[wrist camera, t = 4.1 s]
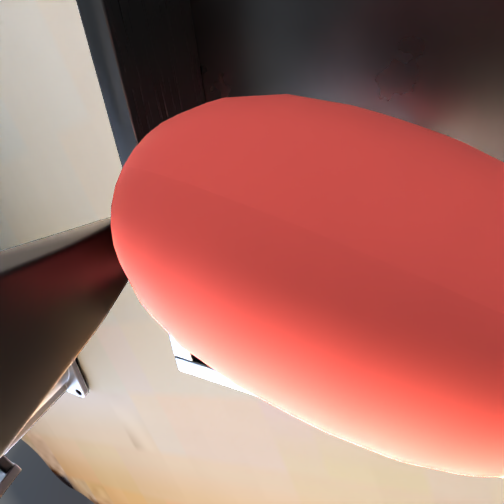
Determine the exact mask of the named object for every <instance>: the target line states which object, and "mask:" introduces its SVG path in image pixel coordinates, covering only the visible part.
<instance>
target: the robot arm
mask: <svg viewBox="0 0 504 504" xmlns="http://www.w3.org/2000/svg"><path fill="white" fill-rule="evenodd" d="M128 280H129V279H128V278H127V276H126V274H125V272H124V270H123V268H122V266H121V264H120V263H119V260H118V257H117V254H116V251H115V248H114V245H113V239H112V232H111V218H106V219H103V220H99V221H96V222H93V223H90V224H87V225H83V226H80V227H77V228H74V229H70V230H67V231H64V232H61V233H57V234H54V235H51V236H48V237H45V238H41V239H38V240H35V241H32V242H28V243H25V244H22V245H19V246H15V247H12V248H9V249H6V250H3V251H0V498H1V496H2V495H3V494H4V493H5V491H6V490H7V489H8V487H9V486H10V485H11V483H12V482H13V481H14V480H15V478H16V477H17V476H18V474H19V473H20V472H21V470H22V469H21V468H20V467H19V466H18V465H17V464H16V463H12V462H11V461H10V460H9V459H8V458H7V457H6V456H5V454H6V453H7V452H8V451H9V449H11V448H12V447H13V446H14V445H15V443H16V442H17V441H18V440H19V439H20V438H21V437H22V436H23V435H24V434H25V433H26V432H27V431H28V430H29V429H30V428H31V427H32V426H33V425H34V424H35V423H36V422H37V421H38V420H39V419H40V417H41V416H42V415H43V414H44V413H45V412H46V411H47V410H48V409H49V408H50V407H51V406H52V405H53V404H54V403H55V402H56V401H57V400H58V399H59V398H60V397H61V396H62V395H63V394H64V393H65V391H67V392H69V393H72V394H74V395H77V396H79V397H82V398H83V397H85V396H86V395H87V394H88V393H89V390H88V387H87V385H86V383H85V381H84V378H83V376H82V374H81V372H80V369H79V367H78V365H77V363H76V360H75V358H76V357H77V356H78V354H79V353H80V352H81V350H82V349H83V348H84V346H85V345H86V344H87V342H88V341H89V340H90V338H91V337H92V336H93V334H94V333H95V332H96V330H97V329H98V328H99V326H100V325H101V323H102V322H103V320H104V319H105V317H106V316H107V314H108V313H109V311H110V309H111V308H112V306H113V304H114V303H115V301H116V300H117V298H118V296H119V295H120V293H121V291H122V290H123V288H124V286H125V285H126V283H127V282H128Z"/></svg>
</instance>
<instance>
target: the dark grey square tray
mask: <svg viewBox="0 0 504 504" xmlns="http://www.w3.org/2000/svg"><path fill="white" fill-rule="evenodd" d="M76 2H77V5H78V9H79V13H80V16H81V20H82V23H83V27H84V31H85V34H86V38H87V41H88V45H89V49H90V52H91V56H92V60H93V63H94V67H95V70H96V74H97V78H98V81H99V85H100V88H101V92H102V96H103V99H104V103H105V107H106V110H107V114H108V117H109V121H110V125H111V128H112V132H113V135H114V139H115V143H116V146H117V150H118V153H119V157H120V161H121V164H122V168H123V166H124V164H125V162H126V161H127V159H128V158H129V156H130V154H131V153H132V151H133V149H134V148H135V147H136V146H137V145H138V144H139V143H140V141H141V140H142V139H143V138H144V137H145V136H146V135H147V134H148V133H149V132H150V131H152V130H153V129H154V128H155V127H157V126H158V125H159V124H161V123H162V122H164V121H166V120H168V119H170V118H172V117H174V116H176V115H178V114H180V113H182V112H185V111H187V110H190V109H192V108H195V107H197V106H200V105H202V104H205V103H208V102H211V101H214V100H217V99H221V98H225V97H242V96H260V95H278V94H290V95H296V96H302V97H308V98H313V99H319V100H325V101H331V102H336V103H342V104H348V105H353V106H357V107H360V108H364V109H368V110H371V111H375V112H378V113H381V114H385V115H388V116H391V117H394V118H398V119H401V120H404V121H407V122H410V123H413V124H416V125H419V126H421V127H424V128H427V129H430V130H433V131H435V132H438V133H441V134H443V135H446V136H449V137H451V138H454V139H457V140H459V141H462V142H464V143H466V144H468V145H470V146H472V147H474V148H476V149H478V150H480V151H482V152H484V153H486V154H488V155H490V156H492V157H494V158H496V159H498V160H500V161H502V162H504V0H76ZM168 334H169V333H168ZM169 338H170V341H171V345H172V349H173V352H174V355H175V358H176V362H177V366H178V369H179V370H180V371H182V372H185V373H188V374H191V375H194V376H197V377H200V378H203V379H206V380H209V381H212V382H215V383H218V384H221V385H224V386H227V387H230V388H233V389H236V390H239V391H242V392H245V393H248V394H251V393H249V392H248V391H246V390H244V389H242V388H241V387H239V386H237V385H236V384H234V383H233V382H231V381H230V380H229V379H227V378H226V377H224V376H223V375H221V374H220V373H218V372H217V371H216V370H214V369H213V368H211V367H210V366H208V365H207V364H205V363H204V362H203V361H201V360H200V359H198V358H197V357H195V356H194V355H193V354H191V353H190V352H188V351H187V350H186V349H184V348H183V347H182V346H181V345H180V344H179V343H178V342H177V341H176V340H175V339H174V338H173V337H172V336H171V335H170V334H169ZM251 395H253V394H251ZM254 396H255V395H254ZM500 478H503V479H504V477H500Z"/></svg>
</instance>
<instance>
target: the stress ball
mask: <svg viewBox="0 0 504 504" xmlns="http://www.w3.org/2000/svg"><path fill="white" fill-rule="evenodd" d="M111 232H112V239H113V245H114V248H115V251H116V254H117V257H118V260H119V263H120V264H121V266H122V268H123V270H124V272H125V274H126V276H127V278H128V279H129V281H130V283H131V285H132V287H133V289H134V291H135V293H136V295H137V297H138V299H139V300H140V302H141V304H142V305H143V306H144V307H145V308H146V310H147V311H148V312H149V313H150V314H151V315H152V317H153V318H154V319H155V320H156V321H157V322H158V323H159V324H160V325H161V326H162V327H163V328H164V329H165V330H166V331H167V332H168V333H169V334H170V335H171V336H172V337H173V338H174V339H175V340H176V341H177V342H178V343H179V344H180V345H181V346H182V347H183V348H184V349H186V350H187V351H188V352H190V353H191V354H193V355H194V356H195V357H197V358H198V359H200V360H201V361H203V362H204V363H205V364H207V365H208V366H210V367H211V368H213V369H214V370H216V371H217V372H218V373H220V374H221V375H223V376H224V377H226V378H227V379H229V380H230V381H231V382H233V383H234V384H236V385H237V386H239V387H241V388H242V389H244V390H246V391H248V392H249V393H251V394H253V395H255V396H257V397H258V398H260V399H262V400H264V401H266V402H267V403H269V404H271V405H273V406H275V407H277V408H279V409H281V410H282V411H284V412H286V413H288V414H290V415H292V416H294V417H296V418H298V419H300V420H302V421H304V422H306V423H308V424H310V425H312V426H314V427H316V428H318V429H320V430H322V431H324V432H326V433H328V434H330V435H333V436H335V437H338V438H340V439H343V440H346V441H348V442H351V443H353V444H356V445H358V446H361V447H363V448H366V449H368V450H371V451H374V452H376V453H379V454H381V455H384V456H386V457H389V458H392V459H395V460H398V461H401V462H404V463H408V464H413V465H418V466H422V467H427V468H432V469H436V470H441V471H446V472H450V473H455V474H459V475H466V476H478V477H504V162H502V161H500V160H498V159H496V158H494V157H492V156H490V155H488V154H486V153H484V152H482V151H480V150H478V149H476V148H474V147H472V146H470V145H468V144H466V143H464V142H462V141H459V140H457V139H454V138H451V137H449V136H446V135H443V134H441V133H438V132H435V131H433V130H430V129H427V128H424V127H421V126H419V125H416V124H413V123H410V122H407V121H404V120H401V119H398V118H394V117H391V116H388V115H385V114H381V113H378V112H375V111H371V110H368V109H364V108H360V107H357V106H353V105H348V104H342V103H336V102H331V101H325V100H319V99H313V98H308V97H302V96H296V95H290V94H278V95H260V96H242V97H225V98H221V99H217V100H214V101H211V102H208V103H205V104H202V105H200V106H197V107H195V108H192V109H190V110H187V111H185V112H182V113H180V114H178V115H176V116H174V117H172V118H170V119H168V120H166V121H164V122H162V123H161V124H159V125H158V126H157V127H155V128H154V129H153V130H152V131H150V132H149V133H148V134H147V135H146V136H145V137H144V138H143V139H142V140H141V141H140V143H139V144H138V145H137V146H136V147H135V148H134V149H133V151H132V153H131V154H130V156H129V158H128V159H127V161H126V162H125V164H124V166H123V168H122V170H121V173H120V175H119V178H118V181H117V183H116V186H115V190H114V195H113V200H112V205H111Z"/></svg>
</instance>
